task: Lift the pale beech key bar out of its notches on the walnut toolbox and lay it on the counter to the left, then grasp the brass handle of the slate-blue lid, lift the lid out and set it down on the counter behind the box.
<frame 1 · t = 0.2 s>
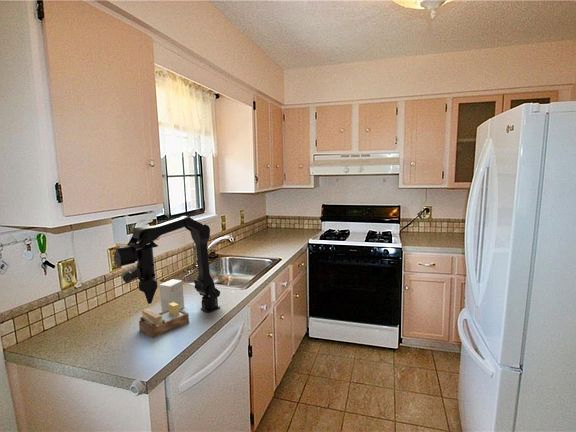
hand: (149, 299, 127), 14 cm above the countertop, fingers open, 9 cm apart
key: (152, 321, 130), point 4 cm above the countertop, touching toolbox
small box: (173, 310, 150), on the countertop
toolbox: (164, 326, 134), on the countertop
lid: (164, 319, 134), point 3 cm above the countertop, touching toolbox
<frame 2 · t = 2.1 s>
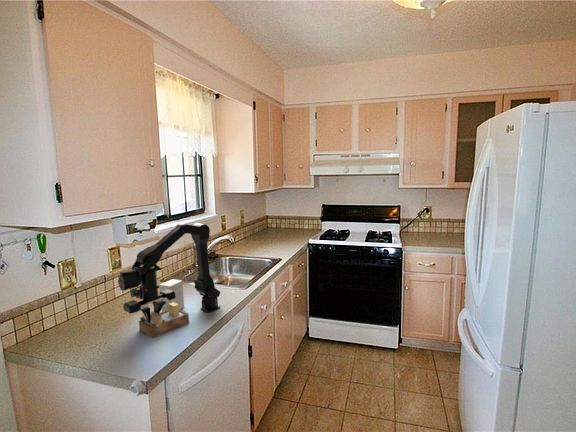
hand: (152, 321, 130), 4 cm above the countertop, fingers closed on key, 2 cm apart
key: (152, 321, 130), point 4 cm above the countertop, touching gripper, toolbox
everything else where it was.
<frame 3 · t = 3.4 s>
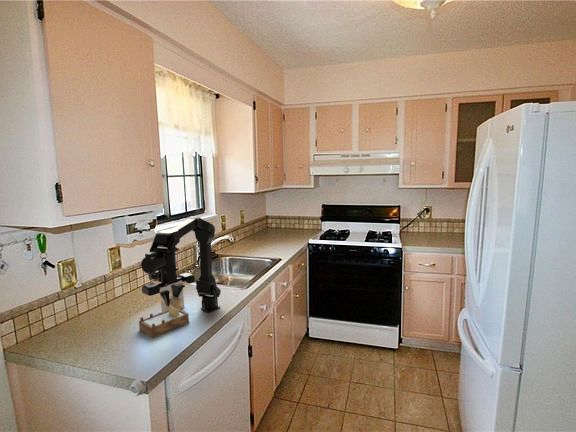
hand: (171, 305, 124), 12 cm above the countertop, fingers closed on key, 2 cm apart
key: (171, 305, 124), point 12 cm above the countertop, touching gripper
everything else where it was.
when the fingers open (2 cm above the countertop, at t = 4.8 s): key drops 2 cm, on the countertop.
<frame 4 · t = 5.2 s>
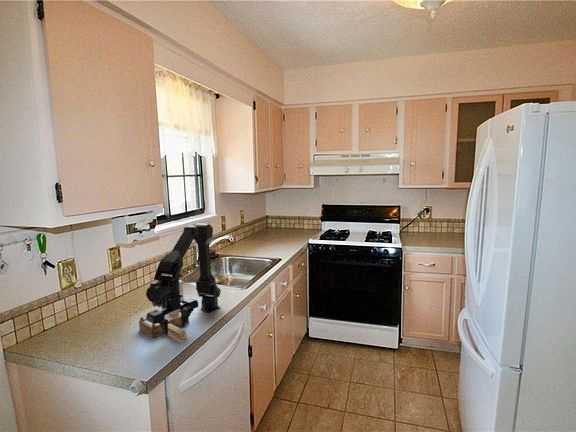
hand: (175, 331, 125), 2 cm above the countertop, fingers open, 7 cm apart
key: (175, 337, 126), on the countertop
everything else where it was.
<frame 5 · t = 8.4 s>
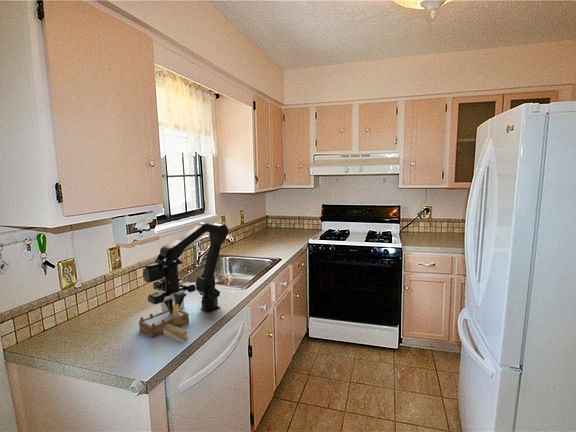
hand: (174, 312, 137), 4 cm above the countertop, fingers closed on lid, 2 cm apart
lid: (164, 319, 134), point 3 cm above the countertop, touching gripper, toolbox
everything else where it was.
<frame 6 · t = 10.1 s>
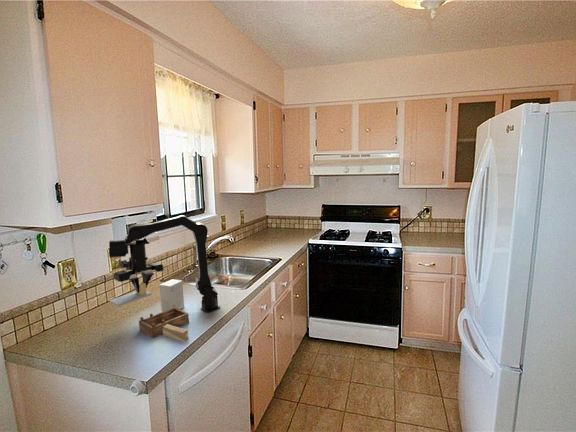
hand: (141, 291, 137), 13 cm above the countertop, fingers closed on lid, 2 cm apart
lid: (131, 298, 134), point 12 cm above the countertop, touching gripper
everything else where it was.
when the fingers open (3 cm above the countertop, at t = 11.9 s): lid drops 2 cm, on the countertop.
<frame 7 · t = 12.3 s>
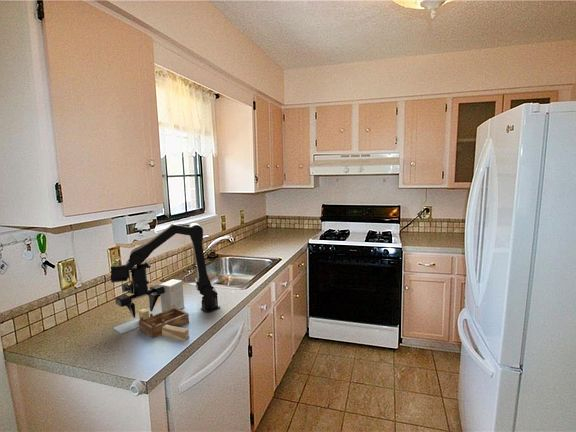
hand: (142, 314, 139), 3 cm above the countertop, fingers open, 7 cm apart
lid: (134, 325, 137), on the countertop
everything else where it was.
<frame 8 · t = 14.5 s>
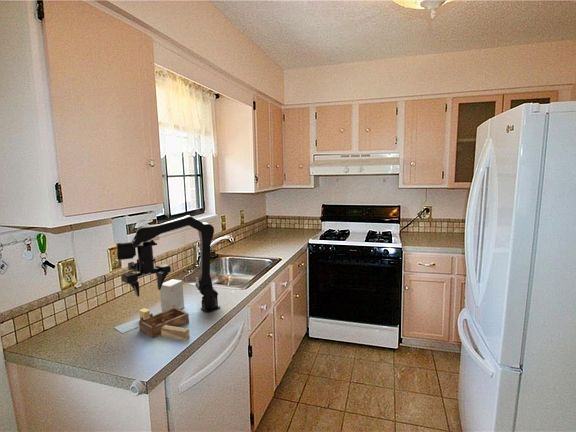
hand: (148, 293, 137), 12 cm above the countertop, fingers open, 9 cm apart
nothing on the countertop moved.
at the end: lid inside the target area (2.0 cm from its centre), on the countertop; lid tilted 0°; key inside the target area (4.7 cm from its centre), on the countertop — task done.
